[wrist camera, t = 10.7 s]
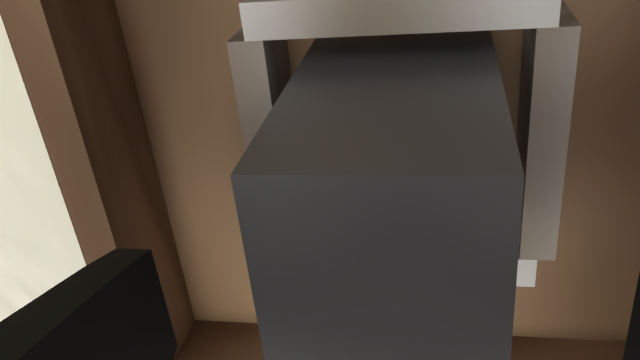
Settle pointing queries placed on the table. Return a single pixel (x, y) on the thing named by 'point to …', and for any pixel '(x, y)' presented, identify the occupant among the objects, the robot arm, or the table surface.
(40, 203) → the table surface
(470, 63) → the grey rectangular block
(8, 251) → the table surface
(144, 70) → the walnut box
